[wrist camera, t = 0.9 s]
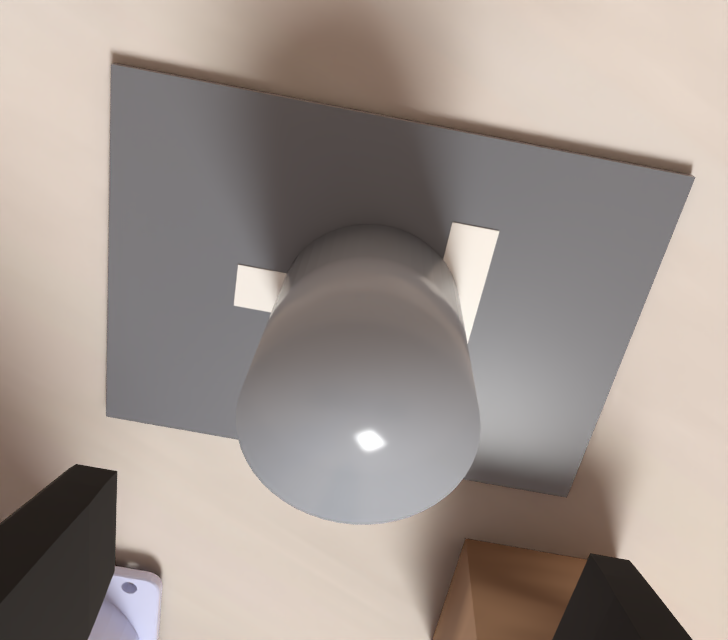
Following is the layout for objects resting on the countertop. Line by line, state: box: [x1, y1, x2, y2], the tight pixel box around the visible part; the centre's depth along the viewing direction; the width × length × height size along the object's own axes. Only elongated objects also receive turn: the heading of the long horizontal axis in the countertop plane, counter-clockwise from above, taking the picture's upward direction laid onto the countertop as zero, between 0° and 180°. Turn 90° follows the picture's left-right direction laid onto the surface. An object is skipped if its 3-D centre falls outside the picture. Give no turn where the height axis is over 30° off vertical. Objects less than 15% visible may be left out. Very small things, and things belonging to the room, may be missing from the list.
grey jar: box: [236, 224, 481, 525], centre depth 16 cm, size 5×5×6 cm
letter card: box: [106, 63, 695, 497], centre depth 19 cm, size 14×10×1 cm
